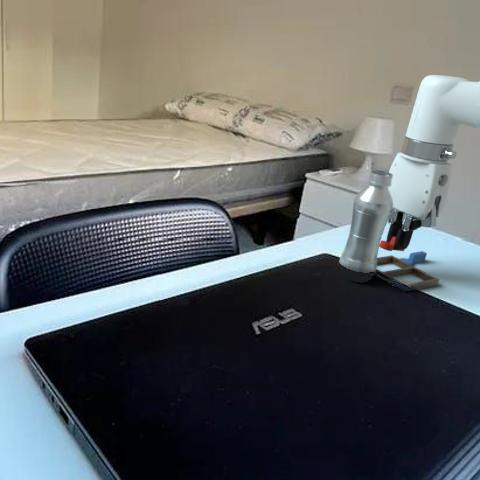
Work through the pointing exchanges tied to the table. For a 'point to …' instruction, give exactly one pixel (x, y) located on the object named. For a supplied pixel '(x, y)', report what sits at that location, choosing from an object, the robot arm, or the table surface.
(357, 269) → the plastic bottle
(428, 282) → the cutlery tray
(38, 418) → the table surface
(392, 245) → the red stepped block
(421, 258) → the blue stepped block
